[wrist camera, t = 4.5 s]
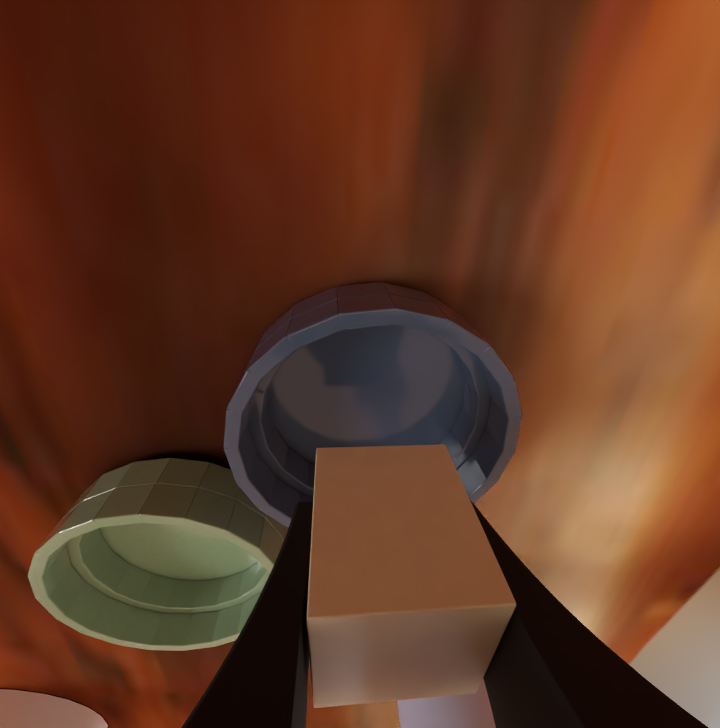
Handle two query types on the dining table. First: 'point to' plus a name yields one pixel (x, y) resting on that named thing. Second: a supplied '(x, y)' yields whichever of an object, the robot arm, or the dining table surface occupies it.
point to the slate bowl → (367, 392)
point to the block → (399, 579)
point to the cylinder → (44, 712)
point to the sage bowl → (158, 557)
